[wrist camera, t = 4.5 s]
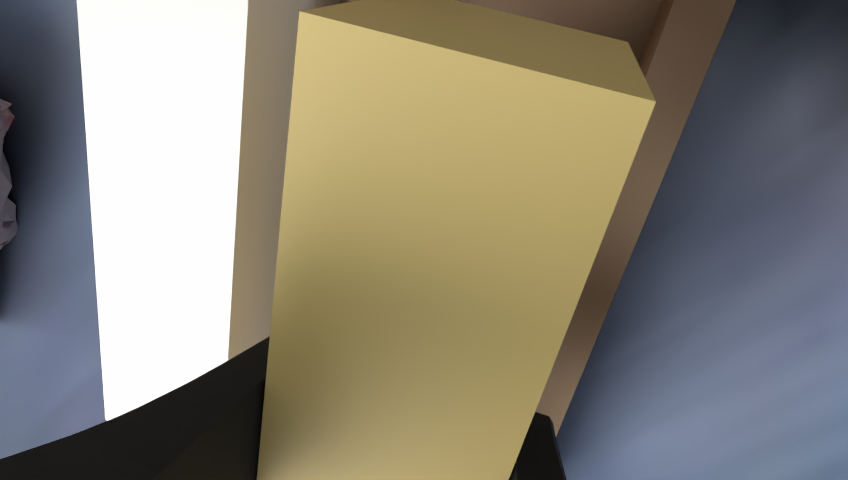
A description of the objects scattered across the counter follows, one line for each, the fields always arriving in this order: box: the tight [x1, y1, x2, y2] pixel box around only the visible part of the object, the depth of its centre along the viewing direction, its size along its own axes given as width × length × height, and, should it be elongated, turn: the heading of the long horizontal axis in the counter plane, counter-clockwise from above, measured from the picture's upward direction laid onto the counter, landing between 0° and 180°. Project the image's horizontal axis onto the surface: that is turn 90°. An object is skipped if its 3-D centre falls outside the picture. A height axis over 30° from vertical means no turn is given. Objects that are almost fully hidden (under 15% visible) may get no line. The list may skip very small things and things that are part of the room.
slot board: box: [339, 0, 736, 436], centre depth 19 cm, size 22×16×4 cm
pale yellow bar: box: [257, 0, 656, 480], centre depth 12 cm, size 14×4×5 cm, turn 168°
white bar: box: [77, 0, 340, 421], centre depth 17 cm, size 14×4×5 cm, turn 168°
